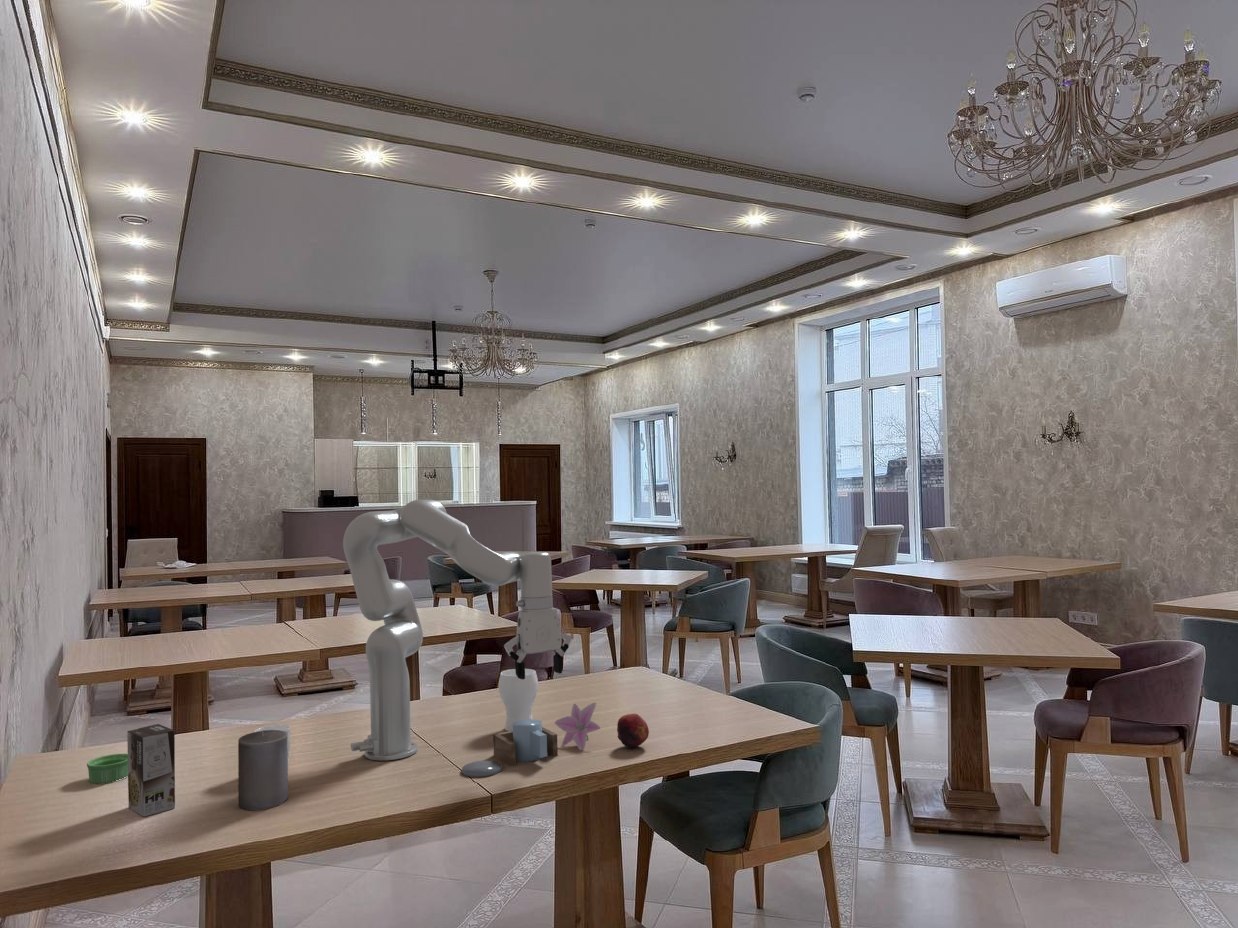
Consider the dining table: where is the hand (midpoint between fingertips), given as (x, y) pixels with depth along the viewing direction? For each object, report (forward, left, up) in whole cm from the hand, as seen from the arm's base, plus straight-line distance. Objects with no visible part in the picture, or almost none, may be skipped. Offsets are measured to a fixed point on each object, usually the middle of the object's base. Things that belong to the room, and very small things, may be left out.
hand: (539, 675), depth 198 cm
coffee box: (-80, +22, -20) cm, 85 cm away
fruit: (+22, -6, -20) cm, 30 cm away
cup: (+7, +27, -20) cm, 34 cm away
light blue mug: (-2, +1, -20) cm, 20 cm away
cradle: (-2, +5, -20) cm, 20 cm away
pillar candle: (-60, +11, -20) cm, 64 cm away
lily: (+13, +5, -20) cm, 24 cm away
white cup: (-55, +30, -20) cm, 66 cm away
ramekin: (-87, +50, -20) cm, 102 cm away
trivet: (-15, +1, -20) cm, 25 cm away
